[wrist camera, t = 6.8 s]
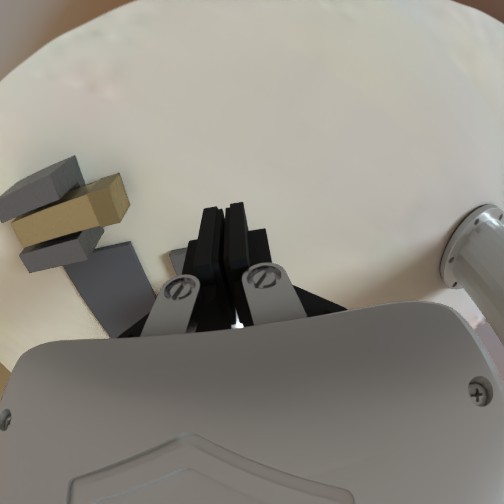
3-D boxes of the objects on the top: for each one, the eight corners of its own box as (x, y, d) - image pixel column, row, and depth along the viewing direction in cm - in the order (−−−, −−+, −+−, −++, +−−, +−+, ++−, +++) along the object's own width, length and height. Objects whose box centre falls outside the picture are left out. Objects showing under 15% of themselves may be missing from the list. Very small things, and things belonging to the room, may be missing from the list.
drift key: (119, 172, 17) (106, 187, 15) (130, 204, 19) (120, 222, 17) (25, 207, 17) (9, 222, 15) (37, 232, 19) (23, 249, 17)
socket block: (75, 155, 17) (49, 174, 14) (104, 231, 21) (88, 259, 18) (18, 181, 17) (-8, 202, 14) (47, 246, 21) (29, 272, 18)
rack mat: (130, 241, 22) (129, 244, 22) (182, 345, 31) (182, 349, 31) (61, 256, 22) (59, 260, 22) (124, 350, 31) (123, 353, 31)
